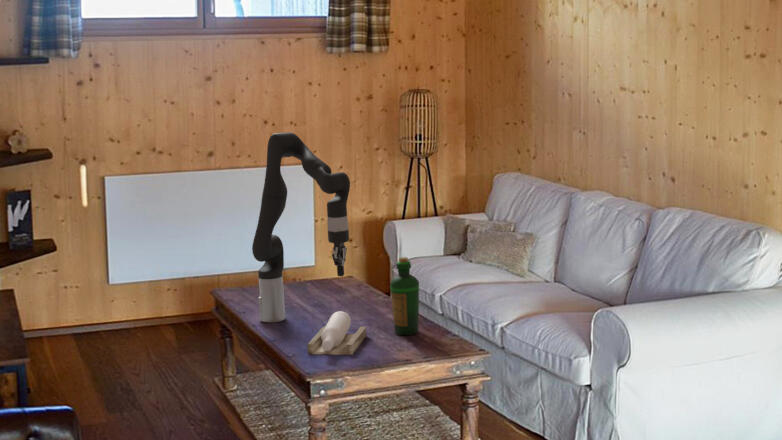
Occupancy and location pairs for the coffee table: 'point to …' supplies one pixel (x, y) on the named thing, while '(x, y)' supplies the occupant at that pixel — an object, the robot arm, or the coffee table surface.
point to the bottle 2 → (405, 299)
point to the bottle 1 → (335, 330)
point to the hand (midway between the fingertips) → (340, 275)
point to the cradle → (345, 348)
